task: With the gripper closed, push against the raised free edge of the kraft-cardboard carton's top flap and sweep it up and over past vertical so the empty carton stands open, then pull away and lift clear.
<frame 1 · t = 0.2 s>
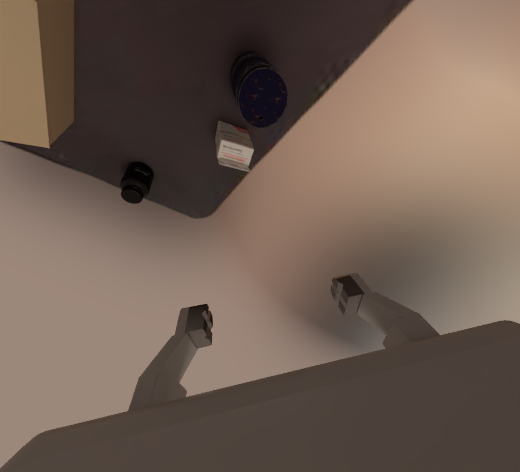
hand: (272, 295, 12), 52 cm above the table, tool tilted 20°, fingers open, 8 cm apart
carton: (4, 32, 32), on the table
ink cartridge box: (231, 132, 53), on the table
supplement bottle: (141, 171, 56), on the table
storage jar: (250, 79, 44), on the table
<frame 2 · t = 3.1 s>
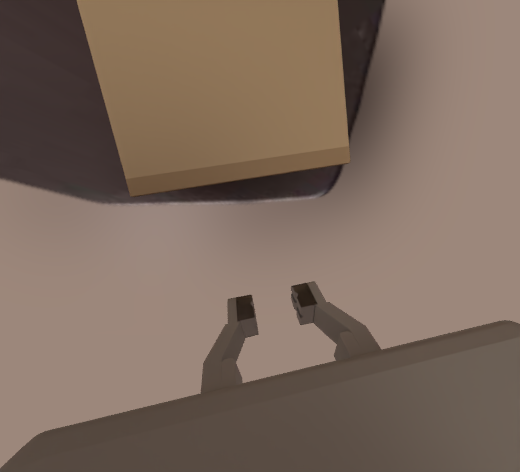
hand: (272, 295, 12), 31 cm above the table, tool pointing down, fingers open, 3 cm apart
flap: (228, 79, 17), point 16 cm above the table, hinge at 25.0°
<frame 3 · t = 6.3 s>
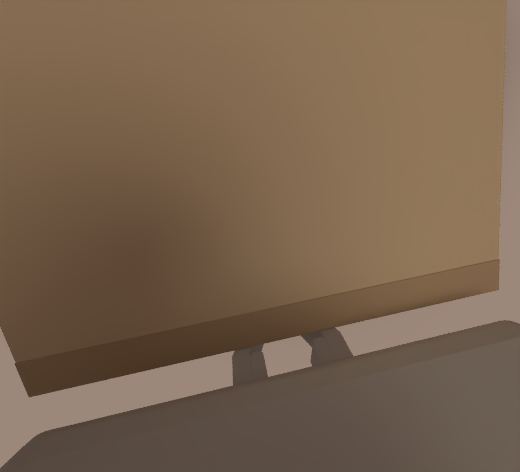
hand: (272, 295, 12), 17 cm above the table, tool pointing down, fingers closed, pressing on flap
flap: (252, 133, 7), point 16 cm above the table, hinge at 25.9°, touching gripper
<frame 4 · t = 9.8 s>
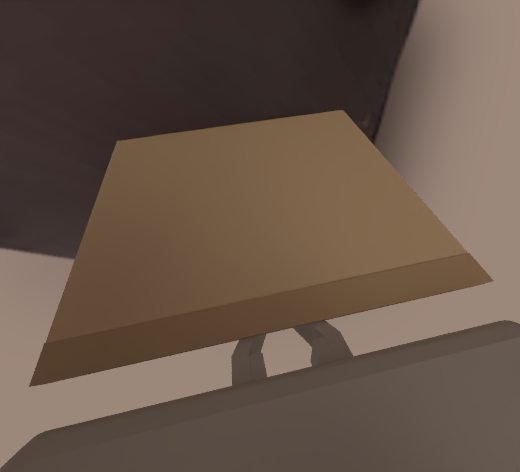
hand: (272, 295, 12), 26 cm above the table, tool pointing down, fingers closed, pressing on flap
flap: (251, 193, 13), point 20 cm above the table, hinge at 65.6°, touching gripper
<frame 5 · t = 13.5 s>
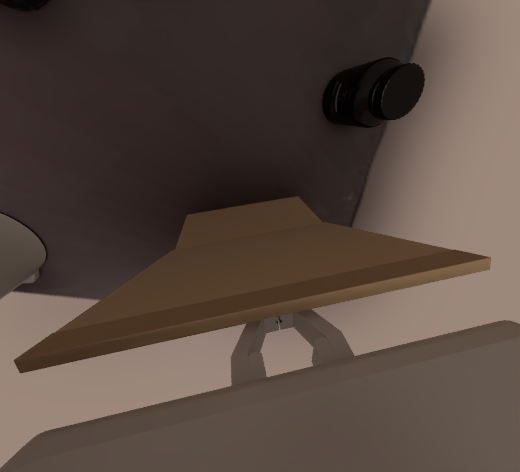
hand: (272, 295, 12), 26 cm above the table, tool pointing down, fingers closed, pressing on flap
carton: (250, 241, 41), on the table
flap: (258, 255, 17), point 20 cm above the table, hinge at 113.6°, touching gripper
supplement bottle: (341, 99, 29), on the table
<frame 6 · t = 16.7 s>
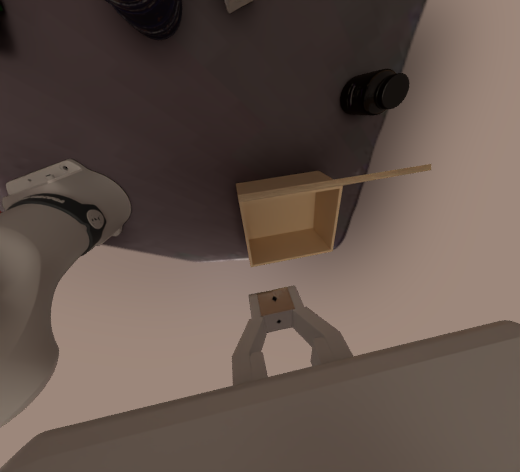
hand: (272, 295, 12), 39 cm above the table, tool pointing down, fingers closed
carton: (279, 208, 53), on the table
flap: (308, 188, 29), point 20 cm above the table, hinge at 113.6°
supplement bottle: (353, 96, 41), on the table
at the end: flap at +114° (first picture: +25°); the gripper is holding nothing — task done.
